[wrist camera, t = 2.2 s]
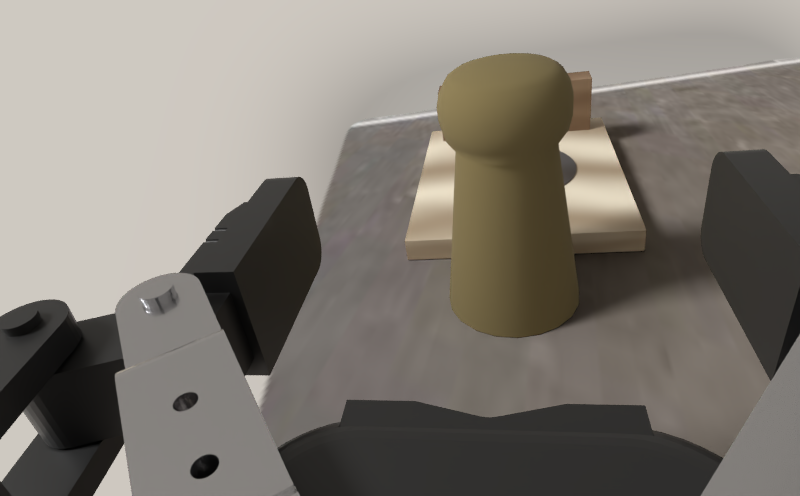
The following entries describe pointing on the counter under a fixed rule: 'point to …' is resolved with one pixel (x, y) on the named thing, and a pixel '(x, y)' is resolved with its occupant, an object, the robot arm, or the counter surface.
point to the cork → (509, 194)
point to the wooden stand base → (583, 179)
